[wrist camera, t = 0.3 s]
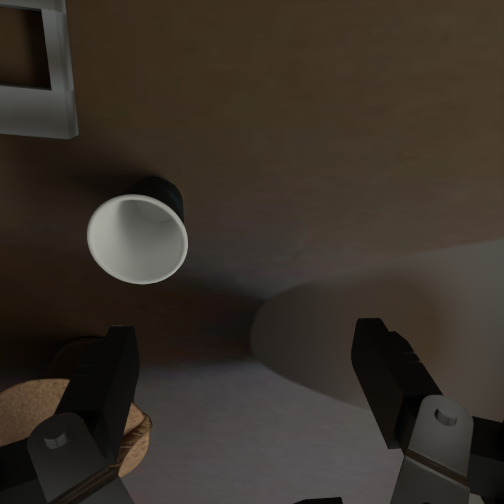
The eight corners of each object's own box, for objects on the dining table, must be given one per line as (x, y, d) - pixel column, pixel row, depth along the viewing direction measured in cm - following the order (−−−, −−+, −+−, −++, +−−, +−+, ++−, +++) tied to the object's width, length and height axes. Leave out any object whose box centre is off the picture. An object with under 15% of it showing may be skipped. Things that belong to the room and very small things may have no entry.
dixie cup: (109, 215, 40) (73, 264, 30) (134, 148, 37) (104, 177, 27) (178, 243, 42) (166, 297, 32) (207, 182, 39) (203, 220, 29)
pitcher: (145, 303, 45) (55, 593, 20) (179, 400, 53) (144, 696, 28) (4, 328, 45) (-258, 648, 21) (59, 421, 53) (-84, 736, 28)
